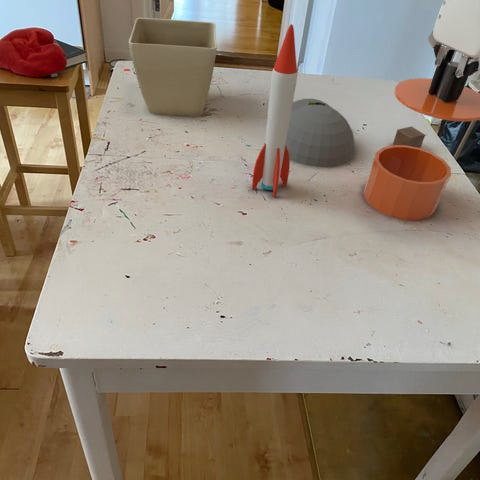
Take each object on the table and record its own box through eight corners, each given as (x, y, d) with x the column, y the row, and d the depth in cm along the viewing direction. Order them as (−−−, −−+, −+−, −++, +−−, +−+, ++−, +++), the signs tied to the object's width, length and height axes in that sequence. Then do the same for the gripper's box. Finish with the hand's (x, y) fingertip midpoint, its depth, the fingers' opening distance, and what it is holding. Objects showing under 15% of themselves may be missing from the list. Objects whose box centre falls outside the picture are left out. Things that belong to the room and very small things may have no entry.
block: (405, 144, 115) (411, 126, 112) (418, 153, 113) (425, 134, 109) (391, 148, 113) (397, 129, 110) (404, 156, 111) (411, 138, 107)
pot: (400, 176, 104) (413, 140, 98) (449, 212, 96) (467, 174, 90) (349, 191, 99) (359, 153, 92) (396, 229, 91) (411, 191, 84)
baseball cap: (345, 112, 121) (359, 69, 110) (352, 189, 108) (368, 148, 98) (272, 106, 120) (279, 61, 109) (270, 182, 108) (277, 140, 97)
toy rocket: (286, 189, 97) (315, 24, 76) (274, 201, 94) (301, 32, 72) (262, 180, 99) (284, 16, 77) (250, 192, 96) (269, 23, 74)
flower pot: (141, 88, 126) (136, 15, 113) (212, 92, 127) (215, 21, 115) (134, 120, 113) (127, 42, 100) (214, 124, 115) (216, 48, 102)
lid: (439, 80, 86) (453, 43, 81) (508, 116, 77) (528, 77, 72) (373, 91, 80) (384, 52, 75) (440, 132, 71) (457, 90, 66)
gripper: (564, -29, 61) (496, 114, 74) (469, -56, 70) (424, 75, 83) (527, -26, 58) (463, 121, 71) (433, -55, 67) (392, 81, 81)
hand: (443, 95), depth 77 cm, fingers closed on lid, 2 cm apart
